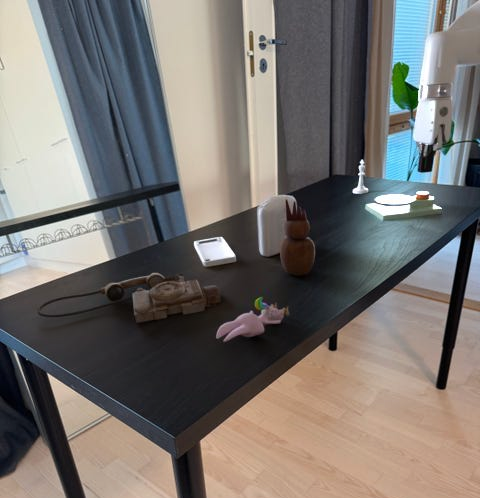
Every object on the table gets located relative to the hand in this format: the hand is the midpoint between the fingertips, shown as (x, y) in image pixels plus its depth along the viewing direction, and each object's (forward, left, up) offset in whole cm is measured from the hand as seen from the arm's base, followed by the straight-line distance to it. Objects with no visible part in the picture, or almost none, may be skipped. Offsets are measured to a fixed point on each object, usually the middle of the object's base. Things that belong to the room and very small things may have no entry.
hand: (424, 171), depth 110 cm
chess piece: (+7, -25, -10) cm, 28 cm away
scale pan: (+8, 0, -7) cm, 10 cm away
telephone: (+75, +36, -10) cm, 83 cm away
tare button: (0, 0, -7) cm, 7 cm away
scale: (+5, 0, -10) cm, 11 cm away
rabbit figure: (+54, +52, -10) cm, 76 cm away
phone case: (+58, +14, -10) cm, 61 cm away
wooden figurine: (+42, +31, -10) cm, 53 cm away
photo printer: (+43, +17, -10) cm, 47 cm away
